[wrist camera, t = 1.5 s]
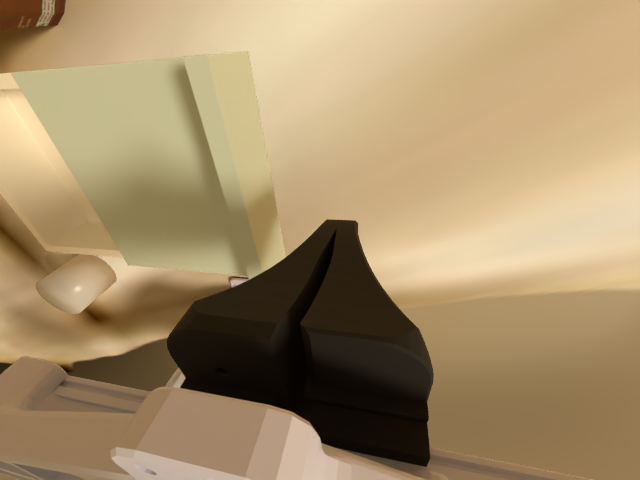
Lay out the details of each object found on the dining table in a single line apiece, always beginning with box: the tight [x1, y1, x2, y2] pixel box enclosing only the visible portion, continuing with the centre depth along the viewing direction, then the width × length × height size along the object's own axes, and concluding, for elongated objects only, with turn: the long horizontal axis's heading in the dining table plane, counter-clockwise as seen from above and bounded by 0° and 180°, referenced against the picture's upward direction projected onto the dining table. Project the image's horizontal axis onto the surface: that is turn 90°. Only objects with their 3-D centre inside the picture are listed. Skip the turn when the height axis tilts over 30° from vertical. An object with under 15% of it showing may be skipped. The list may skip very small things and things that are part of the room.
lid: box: [11, 52, 286, 280], centre depth 17 cm, size 14×14×4 cm
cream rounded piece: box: [36, 254, 116, 314], centre depth 33 cm, size 5×5×5 cm
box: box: [0, 73, 123, 258], centre depth 23 cm, size 14×14×5 cm
